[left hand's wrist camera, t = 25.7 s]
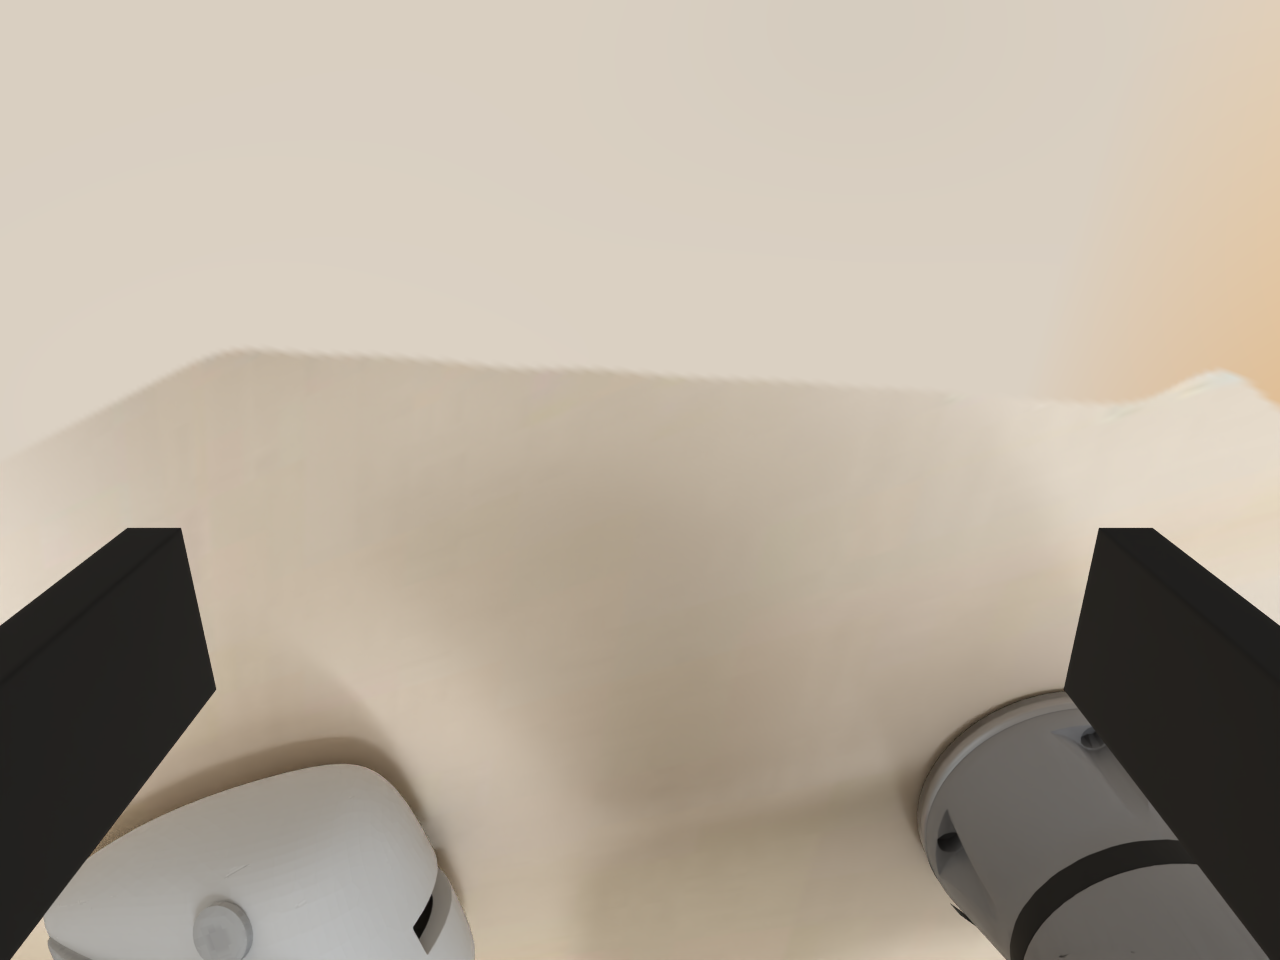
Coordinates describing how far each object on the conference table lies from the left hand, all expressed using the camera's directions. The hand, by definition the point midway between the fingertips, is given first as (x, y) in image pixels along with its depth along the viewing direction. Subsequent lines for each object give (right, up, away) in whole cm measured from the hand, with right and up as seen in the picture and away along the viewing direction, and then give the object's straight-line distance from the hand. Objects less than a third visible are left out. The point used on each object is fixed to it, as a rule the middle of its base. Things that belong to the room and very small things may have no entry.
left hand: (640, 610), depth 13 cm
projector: (-21, -21, +38) cm, 48 cm away
